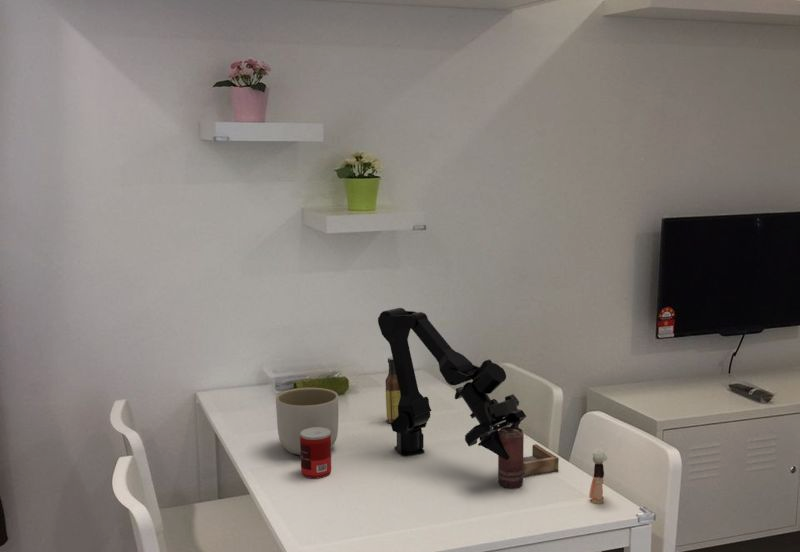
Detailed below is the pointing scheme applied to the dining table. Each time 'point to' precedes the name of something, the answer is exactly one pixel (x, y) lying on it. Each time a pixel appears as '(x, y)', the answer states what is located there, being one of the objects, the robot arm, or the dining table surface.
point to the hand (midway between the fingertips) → (515, 456)
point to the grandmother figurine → (598, 477)
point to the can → (511, 457)
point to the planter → (305, 414)
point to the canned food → (315, 452)
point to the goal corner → (539, 462)
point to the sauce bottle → (392, 392)
